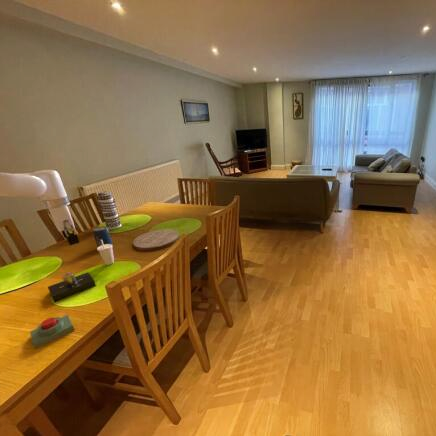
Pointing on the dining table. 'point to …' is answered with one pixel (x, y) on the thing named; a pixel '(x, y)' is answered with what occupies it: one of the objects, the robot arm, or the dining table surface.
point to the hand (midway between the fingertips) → (71, 240)
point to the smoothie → (106, 253)
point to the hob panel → (71, 287)
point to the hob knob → (69, 279)
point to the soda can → (102, 236)
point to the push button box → (51, 332)
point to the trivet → (156, 239)
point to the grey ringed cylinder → (109, 210)
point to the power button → (48, 323)
